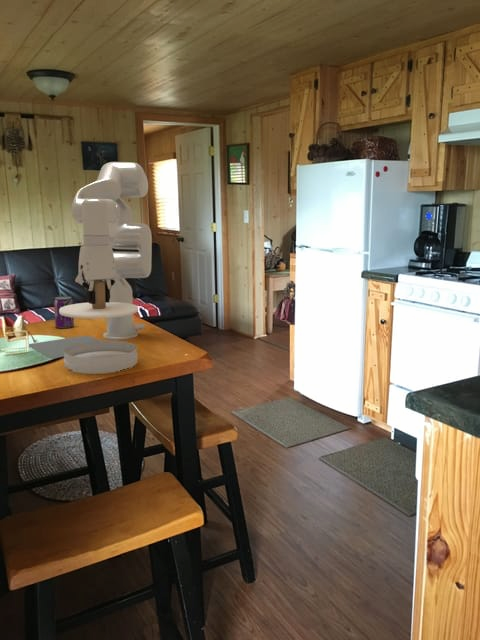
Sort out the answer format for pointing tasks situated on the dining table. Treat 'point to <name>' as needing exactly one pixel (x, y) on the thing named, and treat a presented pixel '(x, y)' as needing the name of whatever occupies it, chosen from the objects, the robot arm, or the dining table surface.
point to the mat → (59, 345)
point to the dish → (100, 356)
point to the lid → (98, 306)
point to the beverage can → (60, 319)
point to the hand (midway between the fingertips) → (98, 302)
